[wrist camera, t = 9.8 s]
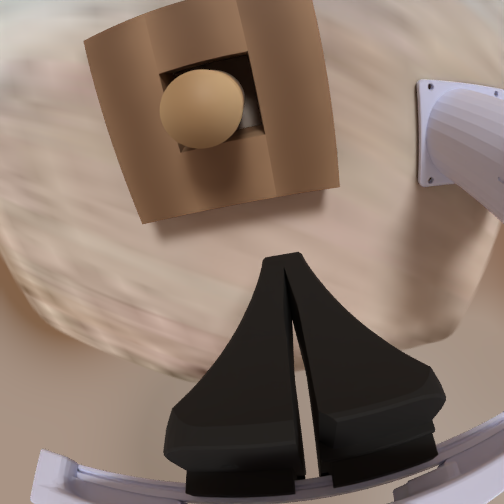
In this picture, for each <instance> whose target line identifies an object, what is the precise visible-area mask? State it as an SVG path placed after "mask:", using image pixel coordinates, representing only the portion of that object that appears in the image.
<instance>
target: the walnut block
mask: <svg viewBox="0 0 504 504" xmlns="http://www.w3.org/2000/svg"><path fill="white" fill-rule="evenodd" d="M84 45H85V50H86V54H87V58H88V62H89V66H90V70H91V74H92V78H93V81H94V85H95V89H96V92H97V96H98V99H99V103H100V106H101V110H102V113H103V116H104V119H105V123H106V126H107V129H108V132H109V135H110V138H111V141H112V144H113V147H114V150H115V153H116V156H117V159H118V161H119V164H120V167H121V170H122V173H123V175H124V178H125V181H126V183H127V186H128V189H129V191H130V194H131V197H132V199H133V202H134V204H135V207H136V209H137V212H138V214H139V217H140V219H141V222H142V224H146V223H151V222H155V221H160V220H164V219H168V218H173V217H178V216H182V215H187V214H192V213H196V212H201V211H206V210H211V209H216V208H221V207H226V206H231V205H236V204H242V203H247V202H252V201H258V200H263V199H269V198H275V197H280V196H286V195H292V194H298V193H304V192H311V191H317V190H323V189H330V188H337V187H340V183H339V170H338V158H337V148H336V138H335V129H334V121H333V113H332V105H331V98H330V91H329V84H328V78H327V72H326V66H325V60H324V54H323V49H322V44H321V39H320V34H319V29H318V24H317V20H316V15H315V11H314V6H313V2H312V0H185V1H181V2H178V3H174V4H171V5H168V6H165V7H162V8H159V9H156V10H153V11H150V12H148V13H145V14H142V15H140V16H137V17H135V18H132V19H130V20H127V21H125V22H123V23H120V24H118V25H116V26H113V27H111V28H109V29H107V30H105V31H103V32H101V33H98V34H96V35H94V36H92V37H90V38H89V39H87V40H85V41H84ZM244 55H248V58H249V63H250V68H251V72H252V77H253V81H254V86H255V91H256V96H257V101H258V105H259V110H260V115H261V120H262V125H258V126H252V127H247V128H242V129H237V130H236V131H235V132H234V133H233V134H232V135H231V136H230V137H229V138H228V139H227V140H226V141H224V142H222V143H221V144H219V145H216V146H214V147H210V148H203V149H197V148H190V147H187V146H184V145H182V144H180V143H178V142H177V141H175V140H174V139H173V138H171V136H170V135H169V134H168V133H167V132H166V130H165V129H164V127H163V124H162V122H161V118H160V102H161V98H162V95H163V93H164V91H165V90H166V88H167V87H168V85H169V84H170V83H171V82H172V81H173V80H174V78H173V74H172V73H174V72H177V71H181V70H184V69H188V68H191V67H195V66H199V65H203V64H207V63H211V62H215V61H219V60H224V59H229V58H233V57H238V56H244Z"/></svg>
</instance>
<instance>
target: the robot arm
mask: <svg viewBox="0 0 504 504" xmlns="http://www.w3.org/2000/svg"><path fill="white" fill-rule="evenodd" d="M428 84H430V85H431V88H430V90H429V89H428ZM494 93H495V95H494ZM417 98H418V118H419V169H418V182H419V184H420V185H421V186H423V187H429V186H438V185H447V184H457V185H458V186H460V187H461V188H462V189H463V190H465V191H466V192H467V193H468V194H470V195H471V196H472V197H473V198H475V199H476V200H477V201H478V202H480V203H481V204H482V205H483V206H484V207H485V208H487V209H488V210H489V211H490V212H491V213H492V214H493V215H495V216H496V217H497V218H498V219H499V220H500V221H501V222H502V223H503V224H504V90H503V89H499V88H494V87H488V86H482V85H475V84H468V83H460V82H452V81H441V80H428V79H420V80H418V82H417ZM430 177H431V180H430V181H429V182H428V180H429V178H430ZM292 320H293V324H294V328H295V332H296V336H297V340H298V343H299V347H300V351H301V355H302V359H303V363H304V367H305V371H306V376H307V382H308V389H309V396H310V403H311V411H312V418H313V426H314V434H315V442H316V450H317V459H318V468H319V477H317V478H311V479H305V475H306V468H305V459H304V450H303V442H302V433H301V425H300V417H299V409H298V400H297V393H296V385H295V375H294V351H293V327H292ZM445 401H446V396H445V393H444V391H443V388H442V385H441V384H440V382H439V380H438V378H437V377H436V375H435V373H434V372H433V370H432V368H431V367H430V366H428V365H426V364H424V363H422V362H420V361H418V360H416V359H414V358H412V357H410V356H409V355H407V354H405V353H403V352H402V351H400V350H399V349H397V348H395V347H394V346H392V345H391V344H389V343H388V342H386V341H385V340H384V339H382V338H381V337H379V336H378V335H377V334H375V333H374V332H372V331H371V330H370V329H368V328H367V327H366V326H365V325H363V324H362V323H361V322H360V321H359V320H357V319H356V318H355V317H354V316H353V315H352V314H351V313H349V312H348V311H347V310H346V309H345V308H344V307H343V306H342V305H341V304H340V303H339V302H338V301H337V300H336V299H335V298H334V297H333V295H332V294H331V293H330V292H329V291H328V290H327V289H326V288H325V286H324V285H323V284H322V283H321V282H320V280H319V279H318V278H317V277H316V275H315V274H314V273H313V271H312V270H311V269H310V267H309V266H308V264H307V263H306V261H305V259H304V258H303V256H302V254H301V253H299V252H295V253H289V254H283V255H277V256H271V257H265V258H264V260H263V262H262V268H261V272H260V276H259V279H258V282H257V285H256V288H255V291H254V293H253V296H252V299H251V301H250V303H249V305H248V308H247V310H246V312H245V314H244V316H243V318H242V320H241V322H240V324H239V326H238V328H237V330H236V331H235V333H234V335H233V336H232V338H231V340H230V341H229V343H228V344H227V346H226V347H225V349H224V350H223V352H222V353H221V355H220V356H219V357H218V359H217V360H216V362H215V363H214V364H213V365H212V367H211V368H210V369H209V370H208V371H207V373H206V374H205V375H204V376H203V377H202V379H201V380H200V381H199V382H198V383H197V384H196V385H195V387H194V388H193V389H192V390H191V391H190V392H189V393H188V394H187V395H186V396H185V397H184V398H182V399H181V401H179V402H178V403H177V404H176V405H175V406H174V407H173V408H172V411H171V414H170V418H169V421H168V425H167V428H166V435H165V443H164V451H163V452H164V456H165V457H166V458H167V459H168V460H170V461H171V462H173V463H174V464H176V465H178V466H179V467H181V468H183V469H185V470H187V475H186V483H180V482H170V481H160V480H153V479H146V478H139V477H133V476H128V475H122V474H117V473H113V472H108V471H104V470H100V469H96V468H92V467H88V466H84V465H80V464H77V462H75V461H73V460H72V459H70V458H68V457H65V456H63V455H60V454H57V453H54V452H51V451H48V450H46V449H41V452H40V456H39V460H38V464H37V468H36V473H35V477H34V483H33V487H32V493H31V497H30V500H31V502H33V503H35V504H187V503H196V504H278V503H289V502H298V501H306V500H313V499H320V498H326V497H332V496H337V495H342V494H347V493H351V492H356V491H360V490H364V489H368V488H372V487H376V486H379V485H383V484H386V483H390V482H393V481H396V480H399V479H402V478H405V477H408V476H411V475H414V474H417V473H419V472H422V471H425V470H427V469H430V468H432V467H435V466H437V465H439V466H438V468H437V469H435V470H433V471H431V472H428V473H426V474H424V475H421V476H419V477H417V478H414V479H412V480H409V481H408V483H406V484H404V485H403V486H400V487H398V488H396V489H394V490H393V495H394V502H391V503H388V504H486V503H488V502H489V501H491V500H492V499H494V498H495V497H496V496H498V495H499V494H501V493H502V492H503V491H504V411H503V412H502V413H500V414H499V415H497V416H495V417H493V418H491V419H489V420H488V421H486V422H484V423H482V424H480V425H478V426H476V427H474V428H472V429H470V430H468V431H466V432H464V433H462V434H460V435H457V436H455V437H453V438H451V439H449V440H446V441H444V442H441V443H439V444H437V445H436V444H435V441H434V438H433V434H432V433H434V432H435V427H434V424H433V421H432V419H433V418H434V417H435V416H436V415H437V413H438V412H439V410H441V408H442V406H443V405H444V403H445Z"/></svg>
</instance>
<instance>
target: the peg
mask: <svg viewBox="0 0 504 504" xmlns="http://www.w3.org/2000/svg"><path fill="white" fill-rule="evenodd" d="M244 104H245V95H244V91H243V88H242V86H241V84H240V83H239V82H238V80H237V79H236V78H234V77H233V76H232V75H230V74H228V73H226V72H223V71H219V70H203V69H201V70H193V71H189V72H186V73H184V74H182V75H180V76H178V77H177V78H176V79H174V80H173V81H172V82H171V83H170V84H169V85H168V87H167V88H166V90H165V91H164V93H163V95H162V98H161V102H160V118H161V122H162V124H163V127H164V129H165V130H166V132H167V133H168V134H169V135H170V136H171V138H173V139H174V140H175V141H177V142H178V143H180V144H182V145H184V146H187V147H190V148H197V149H203V148H210V147H214V146H216V145H219V144H221V143H222V142H224V141H226V140H227V139H228V138H229V137H230V136H231V135H232V134H233V133H234V132H235V131H236V129H237V127H238V126H239V123H240V121H241V117H242V112H243V108H244Z"/></svg>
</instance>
